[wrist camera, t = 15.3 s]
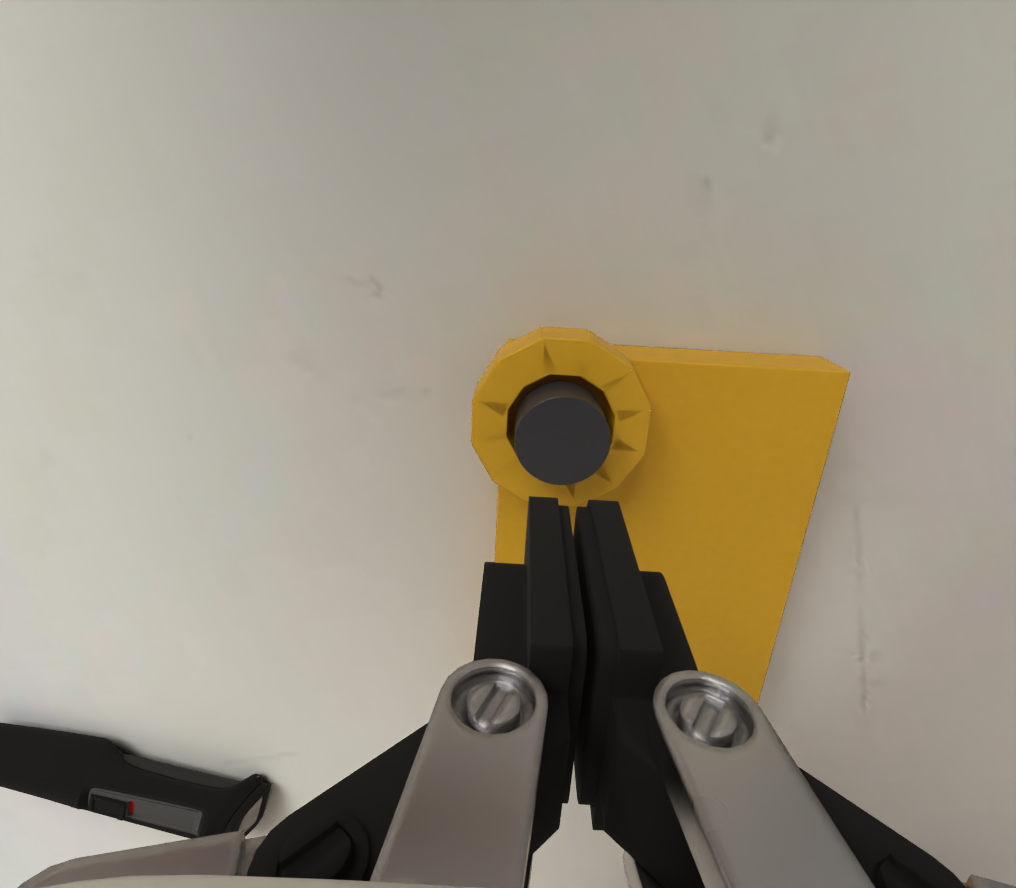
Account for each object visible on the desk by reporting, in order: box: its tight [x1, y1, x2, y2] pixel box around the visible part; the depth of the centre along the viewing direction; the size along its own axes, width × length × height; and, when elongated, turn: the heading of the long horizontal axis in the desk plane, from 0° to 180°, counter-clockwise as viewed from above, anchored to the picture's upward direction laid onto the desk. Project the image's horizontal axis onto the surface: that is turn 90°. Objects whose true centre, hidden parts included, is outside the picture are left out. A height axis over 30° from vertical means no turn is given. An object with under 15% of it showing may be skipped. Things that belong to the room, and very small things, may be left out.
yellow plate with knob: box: [471, 327, 850, 704], centre depth 24 cm, size 19×13×4 cm
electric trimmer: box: [0, 723, 273, 839], centre depth 30 cm, size 4×16×3 cm, turn 70°
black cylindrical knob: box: [514, 381, 611, 485], centre depth 19 cm, size 3×3×2 cm
